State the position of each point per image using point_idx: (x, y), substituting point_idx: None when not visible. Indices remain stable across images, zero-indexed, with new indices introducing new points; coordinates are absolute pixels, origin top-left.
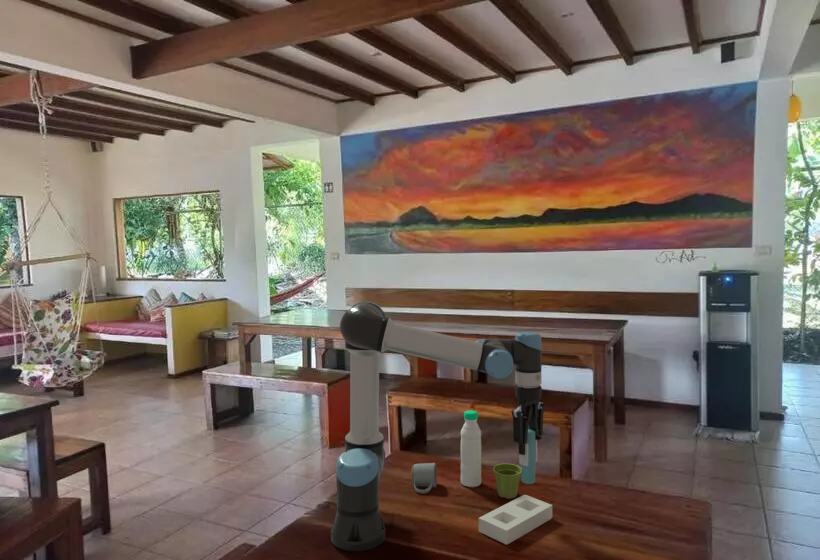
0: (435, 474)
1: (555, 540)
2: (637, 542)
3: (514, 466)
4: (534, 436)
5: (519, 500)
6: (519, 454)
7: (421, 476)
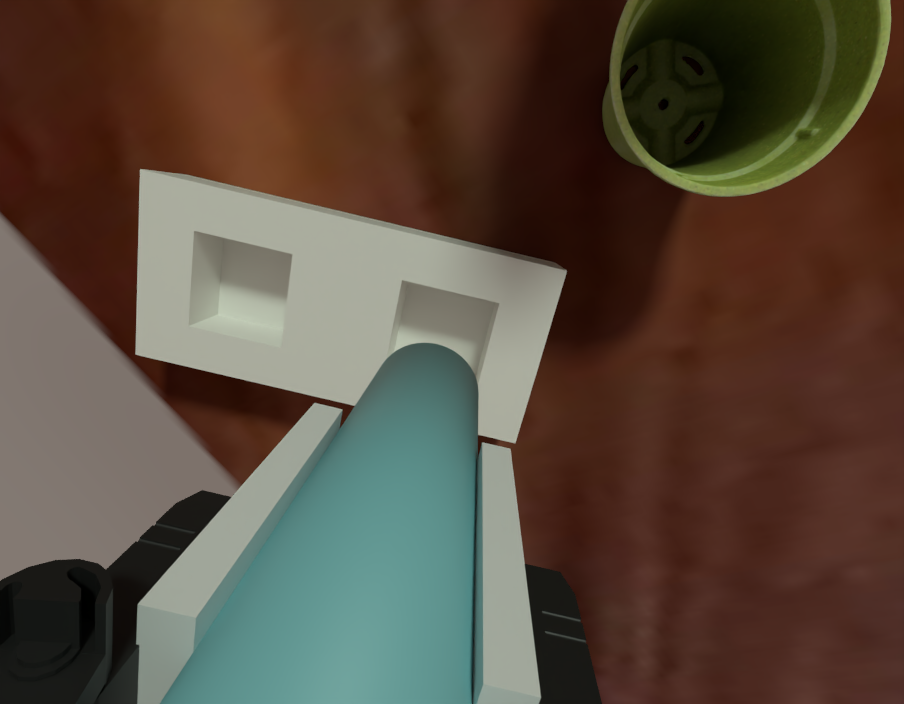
0: None
1: None
2: None
3: (860, 75)
4: None
5: (472, 276)
6: (264, 461)
7: None
